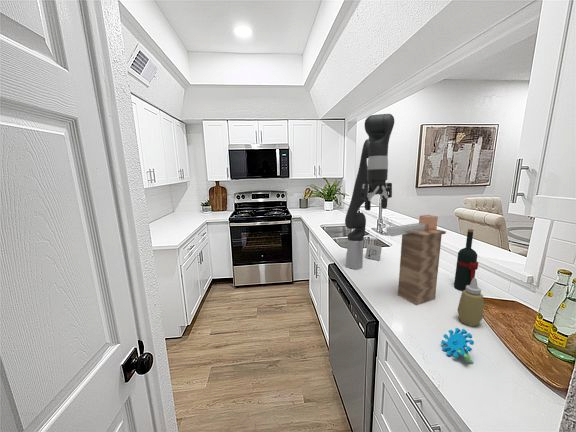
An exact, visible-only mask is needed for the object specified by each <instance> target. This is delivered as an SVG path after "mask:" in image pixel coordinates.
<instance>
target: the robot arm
mask: <svg viewBox="0 0 576 432" xmlns="http://www.w3.org/2000/svg"><path fill="white" fill-rule="evenodd" d="M394 125H395V117H394V116H393V114H391V113H380V114H370V115H368V116H367V117H366V119H365V120H364V130H365V133H366V135H367V136H368V138H367V139H365V141H364V143H363V146H362V150H361V155H360V160H359V166H358V171H357V175H356V178H355V182H354V186H353V190H352V191H353V192H352V195H351V199H350V202H349V205H348V208H347V211H346V215H345V219H344V225H345V227H346V228H347V229H349V230H350V229H351V230H353V231H351V232H349V233H348V234H347V243H346V246H347V249H346V256H345V257H346V258H345V259H346V260H345V261H346V262H345V267H346V268H348V267H349V268H348V269H351V268H352V269H351V270H360V269H359V268H361V269H362V268H363V263H364V262H363V261H364V259H363V257H364V238H365V235H366V227H367V218H366V215H365V214H364V213H363V212H358V211H359V210H360V208H361V207H362V205H364V210H365V211H371V208H372V207H371V206H372V205H371V203H372V201H371V200H372V199H373V197H374V196H375V195H376V196H377V195H379V196H380V198H381V204H380V205H381V206H380V208H381V209H383V210H384V209H385V210H386V209H387V207H388V200H389V199H390V198H392V197H393V183H392V182H386V181H388V173H389V170H388V169H389V157H388V156H389V154H388V153H389V143H390V138H391V135H392V132H393V130H394V127H395V126H394Z"/></svg>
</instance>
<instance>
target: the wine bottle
mask: <svg viewBox="0 0 576 432" xmlns="http://www.w3.org/2000/svg"><path fill="white" fill-rule="evenodd" d="M474 231H475V230H474V229H472V228H468V229H467V231H466V233H467V235H466V241H465V242H466V243H465V247H463V248H461V249H460V250H459V251H458V253H457V258H456V266H455V273H454V274H455V275H454V283H453V288H454V289H456V290H458V291H460V292H462V291H464V290H465V289H466V286H467V285H470V283H471V281H472V279H473V278H476V277H475V276H476V270H478V269H479V262H478V261H477V260H478V253H477V252H476V251H475V250H474V249H473V248H472V245H473V237H474Z"/></svg>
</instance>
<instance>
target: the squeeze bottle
mask: <svg viewBox="0 0 576 432" xmlns="http://www.w3.org/2000/svg"><path fill="white" fill-rule="evenodd" d="M481 292H482V288H480V287H479V286H478V280H477V278H476V277H475V278H473V279H472V281H471V283H470V285H467V286H466V289H465V290H464V291H461V295H460V299H459V302H458V306H457V309H456V310H457V314H458V317H459V321H460V322H461V323H463V324H464V325H467V326H470V327H478V326H479V324H480V323H481V321H482V320H483V319H484V295H483V294H482V293H481Z"/></svg>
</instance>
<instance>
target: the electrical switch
mask: <svg viewBox="0 0 576 432" xmlns="http://www.w3.org/2000/svg"><path fill="white" fill-rule="evenodd" d="M381 255H382V246H380V245H374V244H369V243H368V244H367V245H366V251H365V257H364V258H366V259H368V258H370V259H369V260H373V259H374V261H377V260H378V262H379V261H380V260H381Z"/></svg>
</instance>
